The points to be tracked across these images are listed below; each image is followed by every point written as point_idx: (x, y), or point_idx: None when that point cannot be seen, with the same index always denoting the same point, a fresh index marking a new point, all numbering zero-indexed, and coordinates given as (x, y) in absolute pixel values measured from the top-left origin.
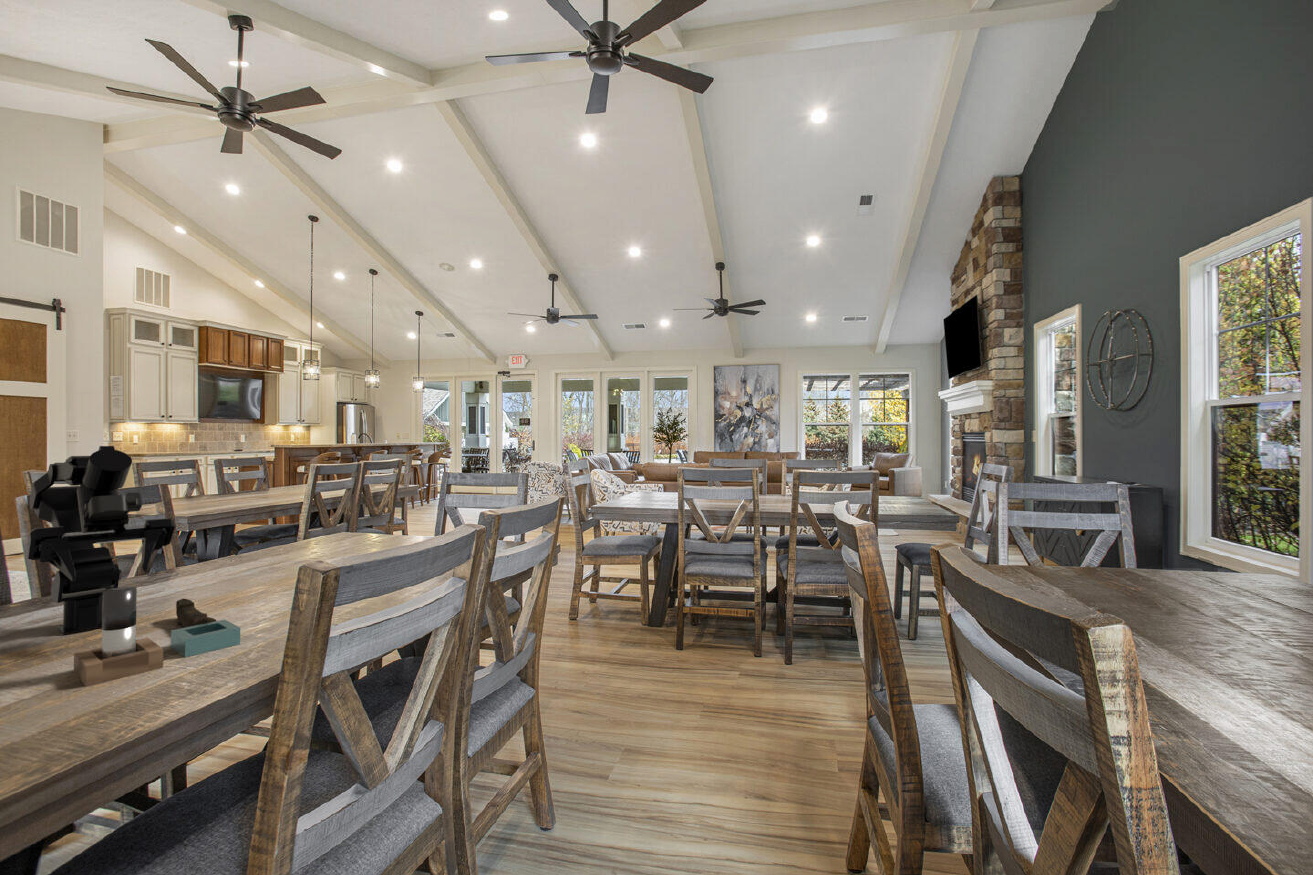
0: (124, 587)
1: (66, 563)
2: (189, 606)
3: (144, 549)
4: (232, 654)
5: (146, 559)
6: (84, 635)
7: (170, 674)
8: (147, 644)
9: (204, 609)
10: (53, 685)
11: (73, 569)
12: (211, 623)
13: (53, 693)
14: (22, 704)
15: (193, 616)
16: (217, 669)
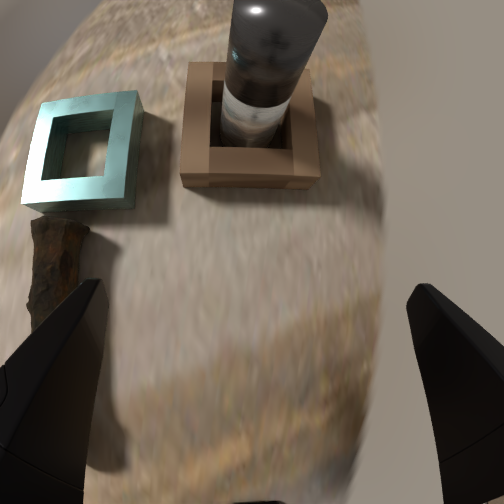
0: (264, 19)
1: (491, 339)
2: None
3: (37, 418)
4: (94, 71)
5: (64, 321)
6: (249, 477)
7: (195, 46)
8: (197, 115)
9: None
10: (336, 138)
11: (449, 315)
12: (49, 187)
13: (336, 99)
14: (366, 91)
15: (52, 287)
16: (145, 24)
